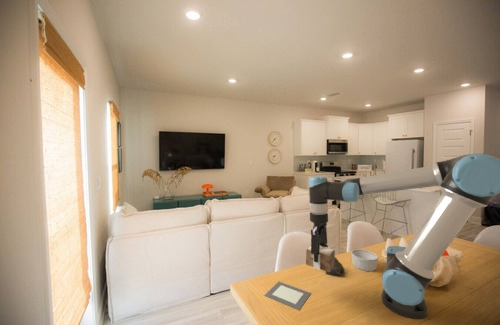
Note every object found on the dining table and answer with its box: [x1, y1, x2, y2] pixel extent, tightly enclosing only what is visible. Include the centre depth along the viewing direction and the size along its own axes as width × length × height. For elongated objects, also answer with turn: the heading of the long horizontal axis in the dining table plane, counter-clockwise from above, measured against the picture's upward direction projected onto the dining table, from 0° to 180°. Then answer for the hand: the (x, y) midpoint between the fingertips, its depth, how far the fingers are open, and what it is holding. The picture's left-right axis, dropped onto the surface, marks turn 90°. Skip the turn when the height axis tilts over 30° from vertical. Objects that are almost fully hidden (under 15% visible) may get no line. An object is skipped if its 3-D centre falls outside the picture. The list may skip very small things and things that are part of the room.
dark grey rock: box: [324, 256, 345, 277], centre depth 114 cm, size 11×9×10 cm
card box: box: [305, 245, 336, 272], centre depth 95 cm, size 10×7×7 cm
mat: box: [263, 281, 312, 311], centre depth 96 cm, size 16×13×1 cm
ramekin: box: [350, 248, 379, 272], centre depth 120 cm, size 13×13×7 cm
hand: (320, 265), depth 95 cm, fingers closed on card box, 7 cm apart
